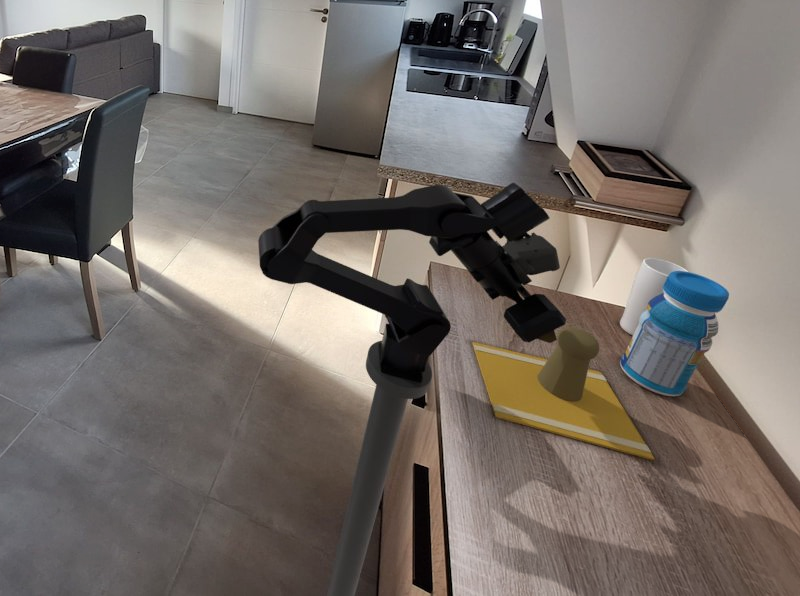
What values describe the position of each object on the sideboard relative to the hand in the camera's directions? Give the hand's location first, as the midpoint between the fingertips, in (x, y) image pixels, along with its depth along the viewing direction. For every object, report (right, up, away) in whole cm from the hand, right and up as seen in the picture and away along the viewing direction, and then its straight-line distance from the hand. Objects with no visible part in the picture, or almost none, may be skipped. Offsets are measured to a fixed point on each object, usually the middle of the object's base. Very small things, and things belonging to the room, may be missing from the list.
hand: (534, 318), depth 71 cm
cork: (+7, -13, +4) cm, 16 cm away
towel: (+5, -14, +3) cm, 15 cm away
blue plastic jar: (+25, -13, +7) cm, 29 cm away
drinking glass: (+33, -9, +17) cm, 39 cm away
